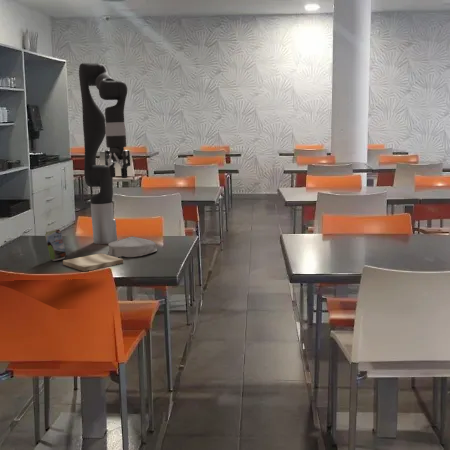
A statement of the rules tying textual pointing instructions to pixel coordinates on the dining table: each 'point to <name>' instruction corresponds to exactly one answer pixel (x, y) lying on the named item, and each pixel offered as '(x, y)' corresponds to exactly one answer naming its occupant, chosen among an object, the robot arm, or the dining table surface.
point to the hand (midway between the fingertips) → (118, 177)
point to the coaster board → (92, 262)
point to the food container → (131, 247)
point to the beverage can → (55, 244)
